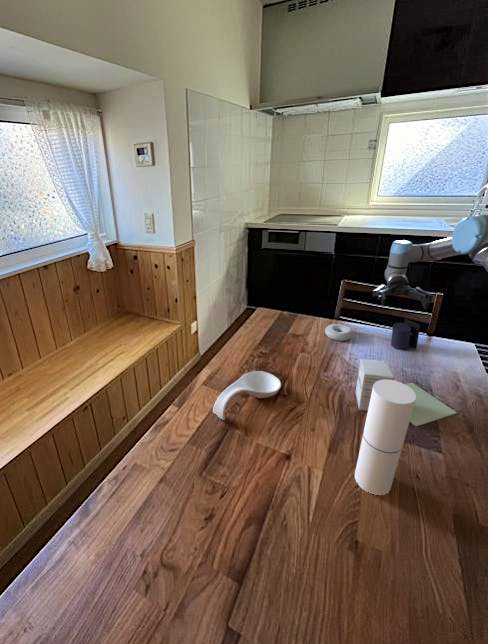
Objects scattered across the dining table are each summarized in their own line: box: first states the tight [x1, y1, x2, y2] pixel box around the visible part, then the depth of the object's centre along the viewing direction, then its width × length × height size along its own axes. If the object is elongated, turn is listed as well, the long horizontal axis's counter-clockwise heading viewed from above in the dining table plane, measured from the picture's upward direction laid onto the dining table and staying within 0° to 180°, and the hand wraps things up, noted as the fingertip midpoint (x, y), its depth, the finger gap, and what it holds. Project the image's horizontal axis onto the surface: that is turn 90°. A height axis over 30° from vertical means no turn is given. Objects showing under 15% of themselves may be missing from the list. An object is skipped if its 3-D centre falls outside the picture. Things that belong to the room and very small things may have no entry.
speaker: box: [390, 318, 421, 351], centre depth 120 cm, size 8×6×10 cm
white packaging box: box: [355, 358, 395, 412], centre depth 94 cm, size 7×7×13 cm
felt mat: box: [404, 382, 458, 428], centre depth 96 cm, size 14×14×1 cm
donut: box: [324, 323, 354, 342], centre depth 131 cm, size 10×4×10 cm
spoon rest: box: [212, 370, 282, 421], centre depth 100 cm, size 24×12×7 cm, turn 127°
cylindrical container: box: [354, 379, 416, 497], centre depth 70 cm, size 7×7×25 cm
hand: (404, 304), depth 125 cm, fingers open, 13 cm apart
